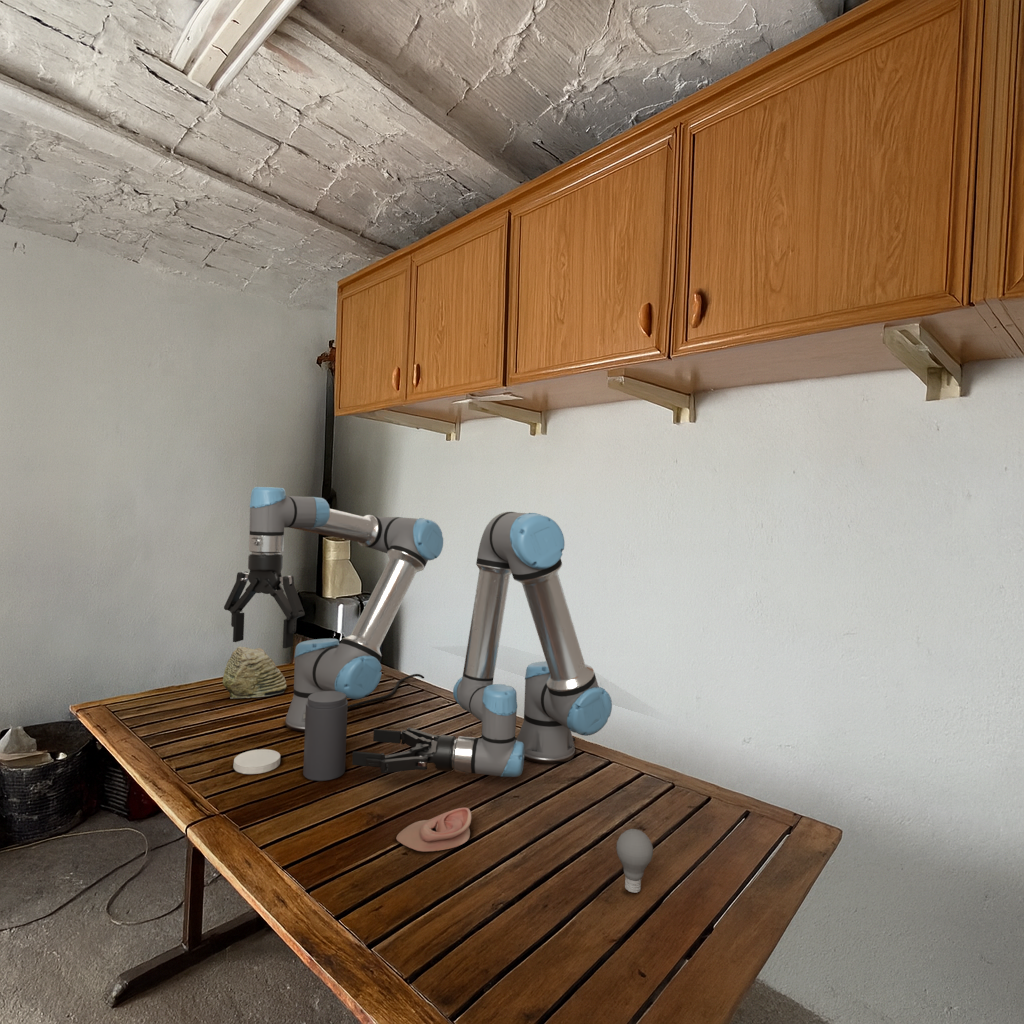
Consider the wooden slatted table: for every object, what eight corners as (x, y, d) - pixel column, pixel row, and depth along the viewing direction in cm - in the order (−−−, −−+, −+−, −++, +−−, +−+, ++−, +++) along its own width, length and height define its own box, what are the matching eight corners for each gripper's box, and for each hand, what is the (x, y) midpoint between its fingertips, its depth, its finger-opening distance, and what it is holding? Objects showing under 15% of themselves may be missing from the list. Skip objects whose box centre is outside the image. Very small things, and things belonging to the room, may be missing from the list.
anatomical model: (390, 825, 115) (412, 796, 127) (389, 846, 116) (411, 816, 127) (460, 836, 113) (476, 806, 124) (459, 858, 113) (476, 826, 124)
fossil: (218, 695, 195) (220, 647, 195) (278, 685, 208) (279, 640, 207) (228, 703, 189) (230, 653, 188) (289, 692, 201) (290, 645, 201)
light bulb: (610, 879, 108) (613, 822, 108) (644, 879, 109) (647, 822, 109) (619, 902, 102) (622, 840, 102) (655, 901, 103) (658, 840, 103)
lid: (272, 752, 155) (272, 746, 155) (286, 767, 147) (286, 760, 147) (228, 761, 149) (228, 754, 149) (240, 778, 141) (240, 770, 141)
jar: (329, 783, 140) (332, 705, 140) (294, 776, 143) (297, 699, 143) (353, 767, 149) (355, 693, 148) (319, 760, 152) (322, 688, 151)
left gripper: (209, 550, 147) (206, 641, 148) (303, 558, 140) (299, 653, 141) (232, 548, 154) (229, 635, 155) (322, 555, 147) (318, 646, 148)
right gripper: (441, 796, 130) (342, 786, 132) (465, 748, 155) (381, 741, 157) (443, 759, 130) (343, 751, 132) (466, 718, 154) (382, 711, 157)
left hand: (262, 644), depth 148 cm, fingers open, 13 cm apart
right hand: (363, 746), depth 145 cm, fingers open, 13 cm apart
